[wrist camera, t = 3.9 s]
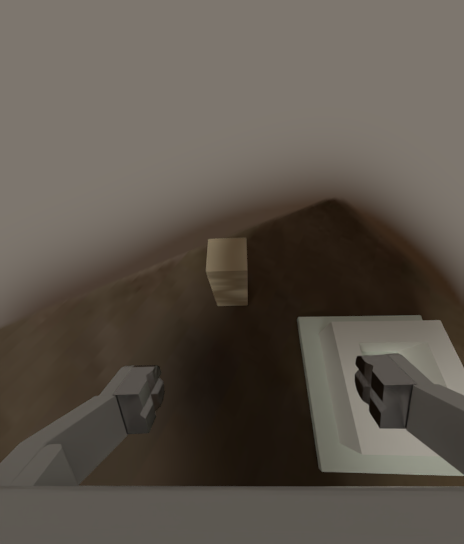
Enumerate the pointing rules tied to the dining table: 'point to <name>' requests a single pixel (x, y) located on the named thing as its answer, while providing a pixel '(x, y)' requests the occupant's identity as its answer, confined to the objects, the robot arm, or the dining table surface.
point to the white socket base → (347, 403)
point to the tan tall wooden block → (228, 270)
